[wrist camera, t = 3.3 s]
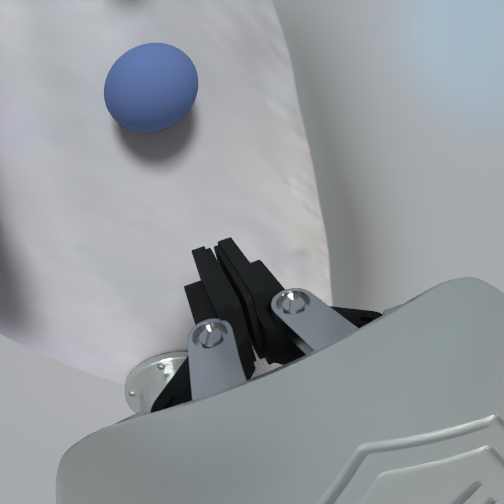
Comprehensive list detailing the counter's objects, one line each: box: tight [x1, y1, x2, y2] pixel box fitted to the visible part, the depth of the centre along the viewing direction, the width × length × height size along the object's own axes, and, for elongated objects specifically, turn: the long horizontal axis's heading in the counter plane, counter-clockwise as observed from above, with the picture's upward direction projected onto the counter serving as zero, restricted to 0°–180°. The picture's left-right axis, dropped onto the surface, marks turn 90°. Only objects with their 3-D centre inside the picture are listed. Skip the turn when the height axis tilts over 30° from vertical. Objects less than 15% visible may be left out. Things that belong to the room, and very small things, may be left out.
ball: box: [104, 43, 198, 132], centre depth 15 cm, size 6×6×6 cm
